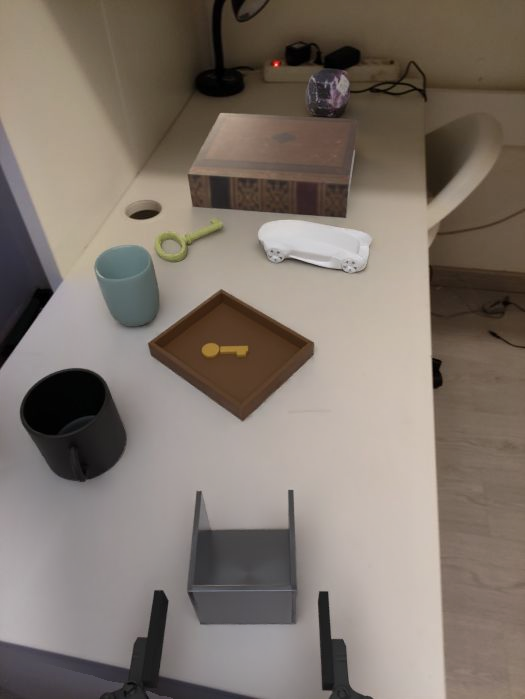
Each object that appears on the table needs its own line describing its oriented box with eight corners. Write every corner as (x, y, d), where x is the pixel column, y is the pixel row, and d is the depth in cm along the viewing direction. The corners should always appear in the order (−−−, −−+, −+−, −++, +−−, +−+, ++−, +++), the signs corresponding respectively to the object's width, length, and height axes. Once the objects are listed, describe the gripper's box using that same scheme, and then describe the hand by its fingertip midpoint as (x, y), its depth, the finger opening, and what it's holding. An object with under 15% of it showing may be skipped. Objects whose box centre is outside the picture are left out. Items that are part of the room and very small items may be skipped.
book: (345, 217, 94) (348, 184, 90) (192, 206, 99) (187, 173, 94) (355, 150, 110) (358, 119, 106) (223, 143, 115) (220, 112, 110)
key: (227, 231, 93) (226, 220, 91) (173, 266, 87) (171, 255, 85) (199, 216, 96) (197, 206, 95) (145, 249, 90) (142, 238, 89)
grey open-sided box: (296, 624, 50) (297, 590, 43) (200, 624, 50) (186, 591, 44) (292, 531, 56) (293, 489, 50) (207, 531, 56) (196, 490, 50)
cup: (111, 302, 82) (93, 248, 74) (162, 294, 82) (150, 240, 75) (111, 338, 76) (92, 284, 69) (165, 329, 77) (153, 275, 70)
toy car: (371, 245, 89) (374, 222, 85) (364, 275, 84) (368, 251, 80) (265, 232, 92) (265, 209, 89) (253, 260, 87) (252, 237, 84)
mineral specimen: (320, 121, 116) (313, 70, 112) (303, 122, 125) (295, 75, 121) (361, 112, 118) (355, 61, 113) (341, 113, 127) (335, 66, 123)
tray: (150, 355, 74) (147, 343, 72) (222, 301, 81) (221, 288, 79) (242, 421, 66) (241, 409, 64) (313, 355, 73) (314, 342, 71)
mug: (48, 512, 59) (17, 470, 52) (46, 425, 66) (19, 378, 60) (134, 488, 60) (115, 444, 53) (122, 406, 68) (104, 359, 61)
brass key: (202, 343, 74) (202, 345, 74) (201, 356, 72) (201, 358, 72) (248, 341, 73) (248, 344, 74) (247, 354, 72) (248, 357, 72)
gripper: (34, 965, 34) (106, 609, 48) (432, 978, 33) (385, 611, 47) (-15, 988, 29) (83, 579, 43) (461, 1005, 28) (398, 580, 42)
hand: (241, 595), depth 45 cm, fingers open, 13 cm apart
